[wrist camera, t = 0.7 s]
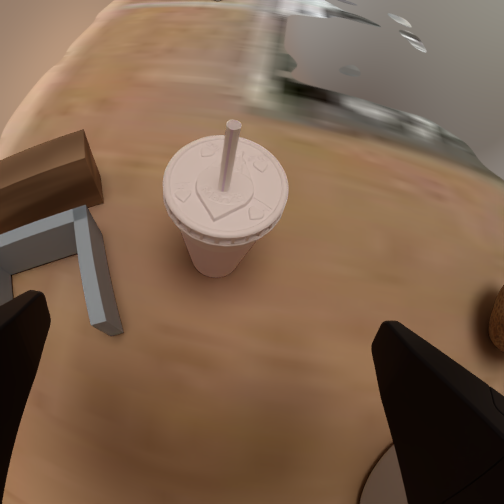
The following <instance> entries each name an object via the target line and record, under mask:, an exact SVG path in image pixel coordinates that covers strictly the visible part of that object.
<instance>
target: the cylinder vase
mask: <svg viewBox="0 0 504 504" xmlns="http://www.w3.org/2000/svg"><path fill="white" fill-rule="evenodd" d="M360 504H408V503H407V498H406V493H405V489H404V484H403V480H402V476H401V471H400V467H399V463H398V459H397V455H396V451H395V447H394V445H393V446H392V447H391V448H390V449H389V450H388V451H387V452H386V453H385V454H384V455H383V456H382V458H381V459H380V460H379V461H378V463H377V464H376V466H375V467H374V469H373V470H372V472H371V474H370V476H369V478H368V480H367V482H366V484H365V486H364V489H363V492H362V495H361V499H360Z"/></svg>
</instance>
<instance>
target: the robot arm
mask: <svg viewBox="0 0 504 504" xmlns="http://www.w3.org/2000/svg"><path fill="white" fill-rule="evenodd" d="M50 323H51V318H50V314H49V310H48V306H47V302H46V298H45V295H44V294H43V293H42V292H39V291H34V290H29V291H27V292H25V293H23V294H21V295H19V296H17V297H16V298H14V299H12V300H10V301H8V302H6V303H5V304H3V305H1V306H0V504H2V500H3V494H4V488H5V482H6V477H7V473H8V468H9V463H10V459H11V455H12V451H13V447H14V443H15V439H16V435H17V432H18V428H19V425H20V421H21V418H22V415H23V411H24V408H25V405H26V402H27V399H28V396H29V393H30V390H31V387H32V384H33V382H34V379H35V376H36V373H37V369H38V366H39V362H40V359H41V355H42V351H43V348H44V344H45V341H46V337H47V334H48V331H49V327H50ZM371 349H372V356H373V360H374V365H375V370H376V376H377V381H378V386H379V391H380V396H381V400H382V404H383V407H384V411H385V414H386V418H387V421H388V425H389V428H390V432H391V436H392V440H393V443H394V447H395V451H396V455H397V459H398V463H399V467H400V471H401V476H402V480H403V484H404V489H405V493H406V498H407V503H408V504H504V396H503V395H501V394H500V393H499V392H497V391H496V390H494V389H493V388H492V387H489V385H488V384H486V383H485V382H483V381H482V380H481V379H479V378H478V377H476V376H475V375H474V374H472V373H471V372H469V371H468V370H467V369H465V368H464V367H462V366H461V365H460V364H458V363H457V362H455V361H454V360H453V359H451V358H450V357H448V356H447V355H445V354H444V353H443V352H441V351H440V350H438V349H437V348H436V347H434V346H433V345H431V344H430V343H428V342H427V341H426V340H424V339H423V338H421V337H420V336H418V335H417V334H415V333H414V332H413V331H411V330H410V329H408V328H407V327H405V326H404V325H402V324H401V323H400V322H398V321H384V322H383V323H382V324H381V326H380V328H379V330H378V332H377V334H376V336H375V338H374V340H373V343H372V348H371Z"/></svg>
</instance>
